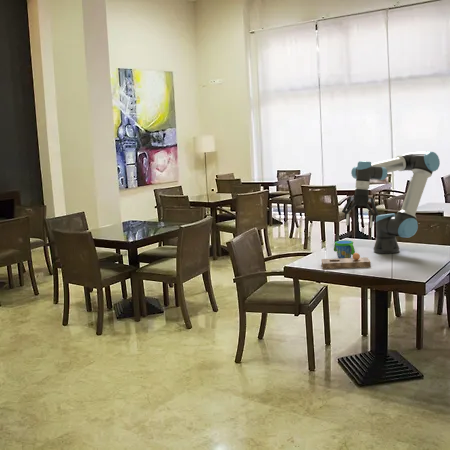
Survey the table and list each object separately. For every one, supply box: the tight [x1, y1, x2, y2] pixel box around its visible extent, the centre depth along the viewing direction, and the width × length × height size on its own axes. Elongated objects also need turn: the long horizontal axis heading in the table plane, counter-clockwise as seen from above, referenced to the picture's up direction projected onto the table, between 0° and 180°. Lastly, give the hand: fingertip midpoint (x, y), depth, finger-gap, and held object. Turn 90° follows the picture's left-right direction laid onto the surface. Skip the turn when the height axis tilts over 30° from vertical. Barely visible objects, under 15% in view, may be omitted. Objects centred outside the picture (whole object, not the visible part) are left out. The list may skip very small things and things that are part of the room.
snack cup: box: [333, 240, 356, 258], centre depth 344 cm, size 16×10×10 cm
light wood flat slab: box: [321, 256, 372, 270], centre depth 326 cm, size 26×12×3 cm, turn 83°
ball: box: [352, 252, 361, 260], centre depth 325 cm, size 4×4×4 cm
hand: (358, 226), depth 328 cm, fingers open, 13 cm apart
